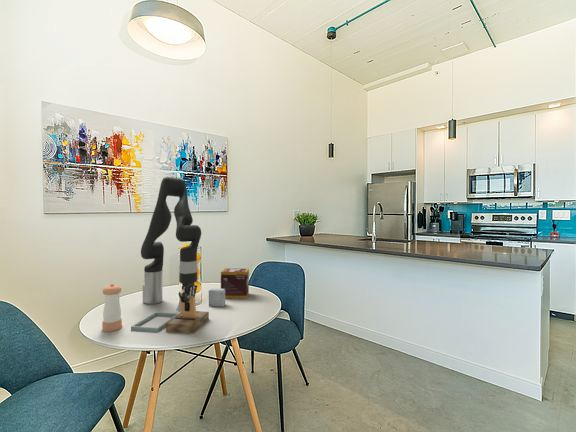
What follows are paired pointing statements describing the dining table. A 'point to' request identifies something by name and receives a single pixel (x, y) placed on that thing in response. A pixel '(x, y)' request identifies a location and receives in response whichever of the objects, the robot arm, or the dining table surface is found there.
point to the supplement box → (235, 283)
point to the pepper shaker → (112, 309)
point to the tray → (150, 329)
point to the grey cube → (217, 297)
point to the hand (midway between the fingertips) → (188, 310)
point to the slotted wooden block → (187, 323)
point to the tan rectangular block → (192, 309)
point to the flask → (179, 307)
